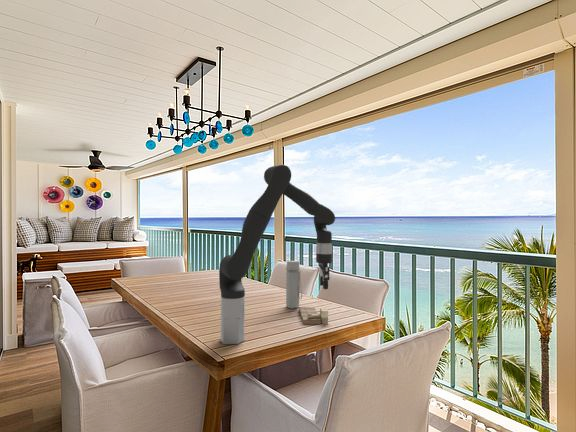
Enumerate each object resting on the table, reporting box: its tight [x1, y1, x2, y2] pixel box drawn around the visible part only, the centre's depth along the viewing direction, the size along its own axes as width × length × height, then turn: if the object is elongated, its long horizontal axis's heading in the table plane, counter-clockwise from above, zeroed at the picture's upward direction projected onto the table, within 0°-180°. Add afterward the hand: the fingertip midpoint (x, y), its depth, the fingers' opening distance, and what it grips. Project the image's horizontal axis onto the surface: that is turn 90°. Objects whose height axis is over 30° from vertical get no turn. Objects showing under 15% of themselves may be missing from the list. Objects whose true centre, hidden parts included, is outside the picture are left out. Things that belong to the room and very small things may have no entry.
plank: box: [298, 306, 322, 325], centre depth 160 cm, size 22×8×2 cm, turn 3°
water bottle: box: [285, 260, 303, 309], centre depth 178 cm, size 9×8×25 cm
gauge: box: [308, 307, 329, 325], centre depth 152 cm, size 5×9×6 cm, turn 93°
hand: (324, 287), depth 153 cm, fingers open, 8 cm apart
